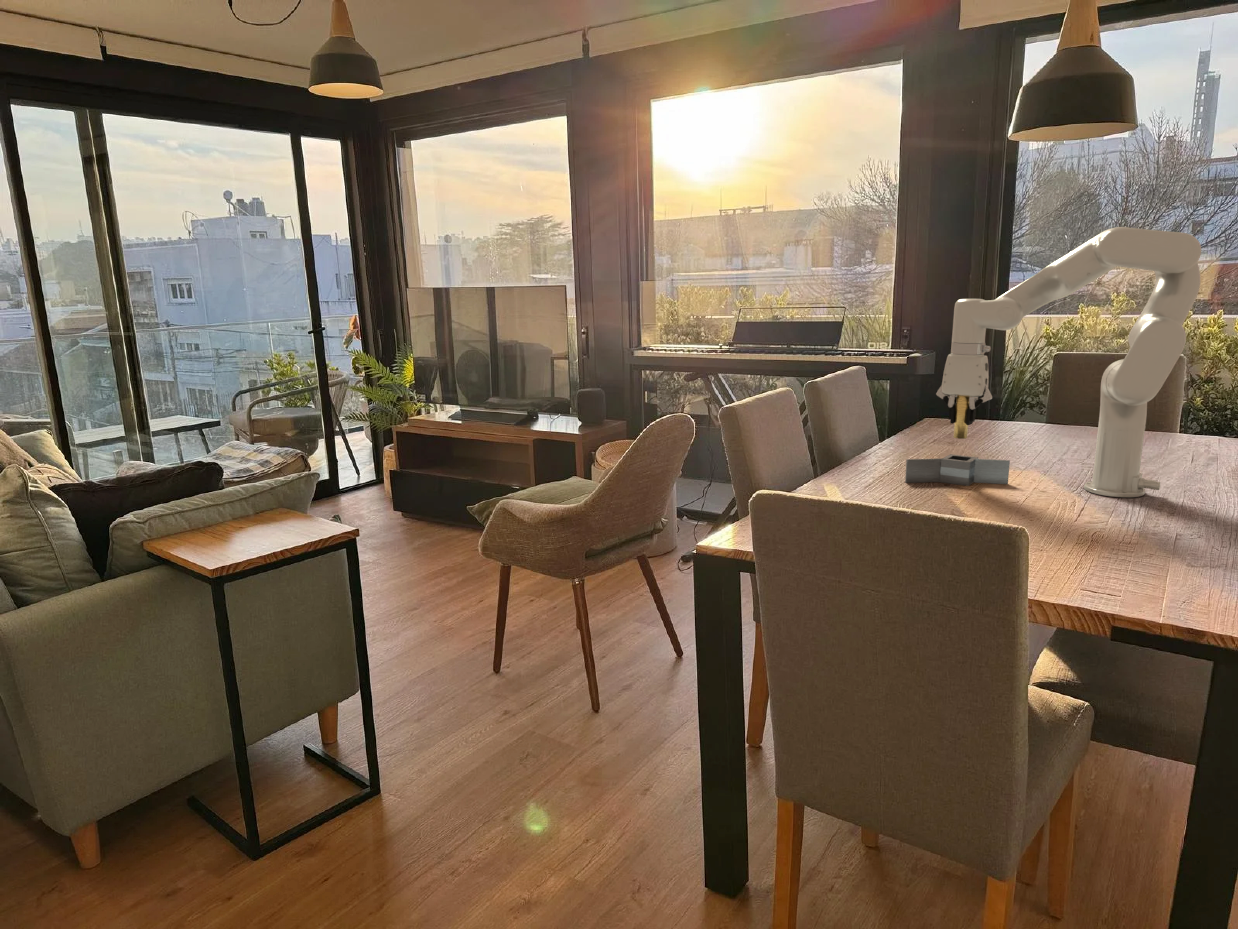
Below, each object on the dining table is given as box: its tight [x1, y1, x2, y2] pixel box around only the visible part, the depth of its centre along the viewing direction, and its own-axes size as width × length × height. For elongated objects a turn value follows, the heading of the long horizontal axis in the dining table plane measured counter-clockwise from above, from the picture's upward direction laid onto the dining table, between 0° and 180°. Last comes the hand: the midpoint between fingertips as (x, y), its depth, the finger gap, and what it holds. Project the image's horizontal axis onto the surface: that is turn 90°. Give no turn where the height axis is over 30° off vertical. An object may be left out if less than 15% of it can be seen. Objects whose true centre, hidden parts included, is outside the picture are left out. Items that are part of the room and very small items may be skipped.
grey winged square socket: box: [904, 453, 1011, 487], centre depth 211 cm, size 21×13×6 cm, turn 51°
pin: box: [953, 396, 970, 440], centre depth 210 cm, size 3×3×12 cm
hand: (961, 422), depth 210 cm, fingers closed on pin, 3 cm apart
